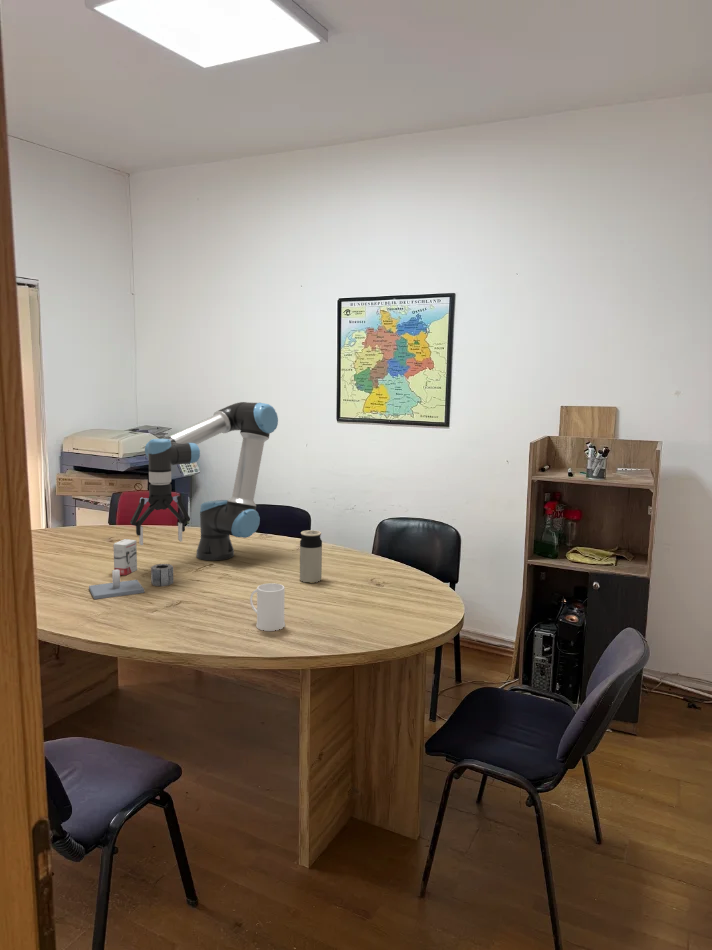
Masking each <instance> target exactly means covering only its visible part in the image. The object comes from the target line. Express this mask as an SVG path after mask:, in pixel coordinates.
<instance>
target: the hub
mask: <svg viewBox="0 0 712 950" xmlns="http://www.w3.org/2000/svg"><path fill="white" fill-rule="evenodd" d="M150 581H151V582H150V583H151V585H152V586H155V587H166V586H170V585H172V584H174V583H175V581H174V566H173V565H172V564H169V563H159V564H154V565H152V566H151V567H150Z"/></svg>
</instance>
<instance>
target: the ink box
mask: <svg viewBox="0 0 712 950" xmlns="http://www.w3.org/2000/svg"><path fill="white" fill-rule="evenodd" d="M137 555H138V552H137V540H136V539H129V538H124V539H122V540H119V541H117V542H114V543H113V570H120V576H125V577H126V576H128V575H130V574H131V573H134V572H136V571H137V570H138V556H137Z"/></svg>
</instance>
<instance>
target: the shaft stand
mask: <svg viewBox="0 0 712 950" xmlns="http://www.w3.org/2000/svg"><path fill="white" fill-rule="evenodd" d="M111 573H112V575H111V576H112V577H111V579H112V582H109V583H100V584H91V585H88V590H89V591H90V594H91V596H92V597H93V599H94V600H101V599H108V598H115V597H116V598H117V597H123V596H129V595H137V594H143V593H145V587H143V585H142V584H141V583H140V582H139V580H138V579H132V580H122V581H121V575H120V570H114V569H113V570H111Z"/></svg>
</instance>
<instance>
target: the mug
mask: <svg viewBox="0 0 712 950" xmlns="http://www.w3.org/2000/svg"><path fill="white" fill-rule="evenodd" d="M254 594H256V607H255V605H254V603H253V596H254ZM249 603H250V606H251V608H252V610H253V612H254V613H256V616H257V617H256V625H255V626H256V628H257V629H258V630H260V631H263V630H264V632H275V630H276V631H280V630H282V629H283V627H284V628H285V627H286V622H285V586H284V585H283V584H280V583H274V582H271V583H270V582H269V583H262V584H259V585H258V586H257V587H256V589H254V590H253V591H252V592H251V594H250V597H249ZM279 629H280V630H279Z"/></svg>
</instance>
